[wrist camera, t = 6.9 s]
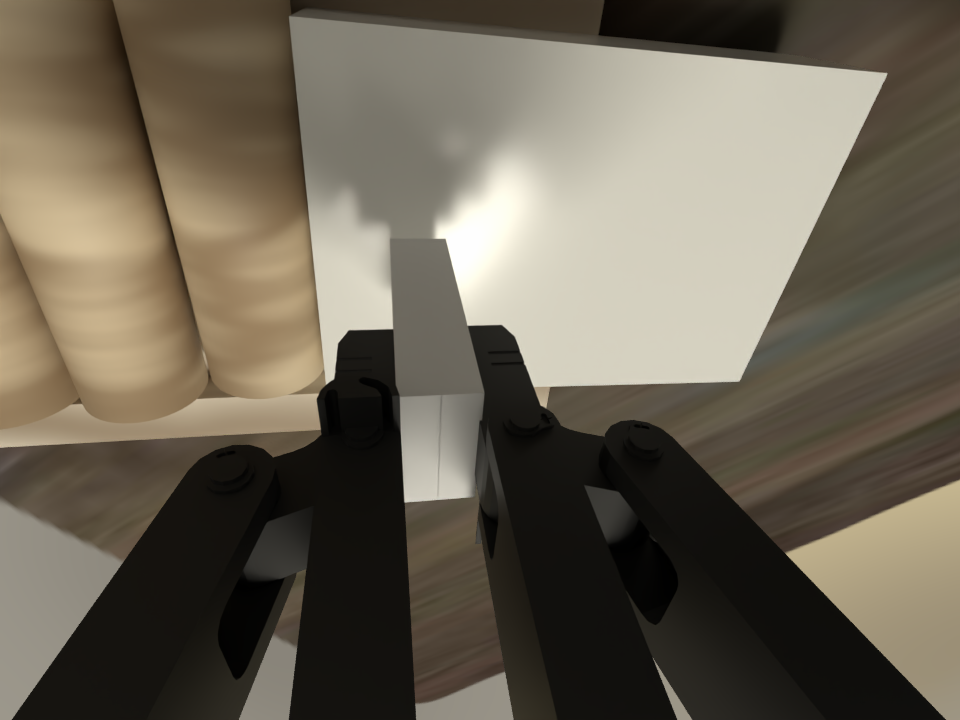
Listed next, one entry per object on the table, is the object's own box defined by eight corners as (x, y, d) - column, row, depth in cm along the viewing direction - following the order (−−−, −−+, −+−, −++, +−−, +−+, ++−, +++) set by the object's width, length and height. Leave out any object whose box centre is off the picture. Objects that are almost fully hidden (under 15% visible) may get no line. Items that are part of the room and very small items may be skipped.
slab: (307, 6, 15) (288, 15, 12) (797, 54, 18) (887, 73, 15) (334, 329, 21) (326, 392, 18) (692, 327, 24) (739, 381, 21)
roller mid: (83, 5, 11) (137, -4, 14) (-150, -19, 10) (-38, -23, 13) (196, 419, 18) (216, 353, 21) (63, 427, 17) (104, 356, 20)
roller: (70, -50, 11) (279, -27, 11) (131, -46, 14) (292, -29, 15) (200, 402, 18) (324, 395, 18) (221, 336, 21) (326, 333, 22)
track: (-536, -220, 11) (-2374, -603, 4) (608, -92, 16) (824, -151, 8) (-75, 410, 22) (-315, 642, 14) (531, 383, 26) (594, 551, 19)
